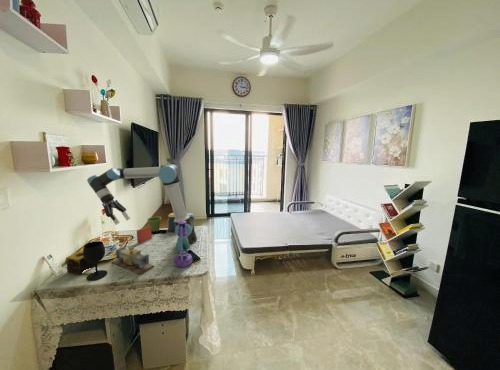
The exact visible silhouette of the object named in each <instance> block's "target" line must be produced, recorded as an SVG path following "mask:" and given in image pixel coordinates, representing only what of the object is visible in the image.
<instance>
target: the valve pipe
mask: <svg viewBox="0 0 500 370" xmlns="http://www.w3.org/2000/svg"><path fill="white" fill-rule="evenodd" d="M114 251H115V257H116V258H115V259H118V258H119V261H120V262H122V263H123V262H124V263H126V264H129V265H131V266H132V265H134V264H135V267H136V268H137V269H140V268H142V267H144V266H146V265H147V264H150V258H149V257H150V256H149V254H142V253H141V250H139V249H136V248H134V249H131V250H129V249H128V248H126V246H122V247H119V248H116V249H115V250H114Z"/></svg>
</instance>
